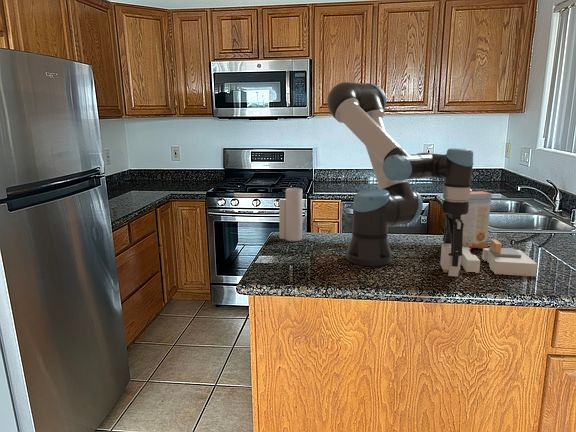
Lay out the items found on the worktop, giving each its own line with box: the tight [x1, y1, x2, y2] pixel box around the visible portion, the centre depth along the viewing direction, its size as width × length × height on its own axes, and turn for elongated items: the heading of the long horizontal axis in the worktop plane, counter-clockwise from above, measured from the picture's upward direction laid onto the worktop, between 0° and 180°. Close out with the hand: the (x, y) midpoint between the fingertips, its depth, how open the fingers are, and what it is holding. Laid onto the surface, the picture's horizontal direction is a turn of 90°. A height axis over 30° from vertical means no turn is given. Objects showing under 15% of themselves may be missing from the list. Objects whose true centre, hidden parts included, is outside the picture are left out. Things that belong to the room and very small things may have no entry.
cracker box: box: [461, 190, 492, 250], centre depth 160 cm, size 14×6×21 cm, turn 100°
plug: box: [439, 242, 461, 273], centre depth 135 cm, size 5×5×8 cm
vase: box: [278, 187, 303, 242], centre depth 172 cm, size 11×7×20 cm, turn 40°
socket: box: [460, 247, 538, 277], centre depth 140 cm, size 20×15×4 cm
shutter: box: [488, 238, 521, 257], centre depth 141 cm, size 8×8×4 cm
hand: (449, 270), depth 136 cm, fingers open, 9 cm apart
